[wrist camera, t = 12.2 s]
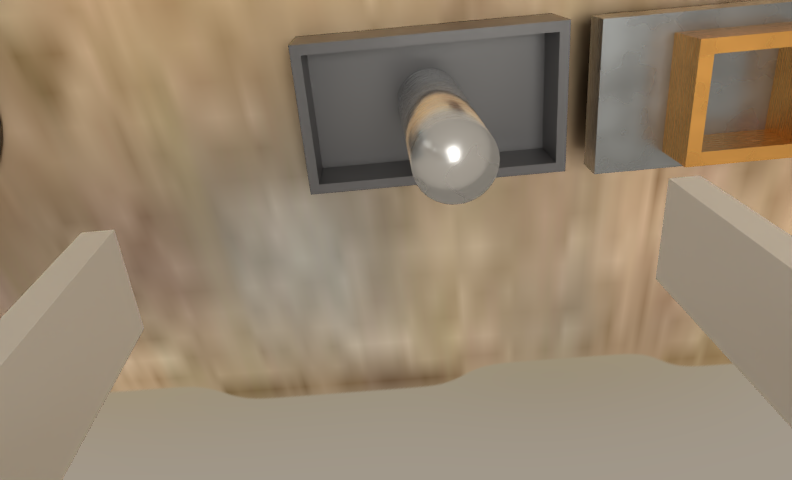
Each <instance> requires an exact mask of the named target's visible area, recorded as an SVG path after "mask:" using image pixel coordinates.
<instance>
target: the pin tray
mask: <svg viewBox="0 0 792 480" xmlns="http://www.w3.org/2000/svg"><path fill="white" fill-rule="evenodd" d="M570 30H571V20H570V19H567V18H564V17H561V16H558V15H555V14H552V13H549V14H538V15H527V16H516V17H505V18H494V19H484V20H473V21H462V22H451V23H440V24H429V25H418V26H407V27H397V28H386V29H375V30H364V31H353V32H342V33H331V34H320V35H310V36H299V37H295V38H294V40H293V41H292V42H291V43H290V44H289V45H288V47H289V54H290V60H291V67H292V74H293V80H294V87H295V93H296V100H297V106H298V113H299V120H300V126H301V133H302V139H303V146H304V152H305V159H306V165H307V172H308V179H309V185H310V192H311V194H322V193H333V192H344V191H355V190H365V189H376V188H387V187H398V186H409V185H417V184H416V182H415V180H414V177H413V174H412V170H411V165H410V160H409V155H408V151H407V146H406V141H405V136H404V132H403V127H402V122H401V117H400V113H399V108H398V94H399V90H400V88H401V86H402V84H403V83H404V81H405V80H406V79H407V78H408V77H409V76H410V75H411V74H413V73H415V72H417V71H419V70H422V69H437V70H440V71H443V72H445V73H446V74H448V75H449V76H450V77H451V78H452V79H453V80H454V82H455V83H456V84H457V86H458V87H459V89H460V90H461V92H462V93H463V94H464V96H465V97H466V99H467V100H468V102H469V103H470V105H471V106H472V108H473V109H474V110H475V112H476V113H477V115H478V116H479V118H480V119H481V121H482V122H483V123H484V125H485V126H486V128H487V129H488V131H489V132H490V134H491V135H492V136H493V138H494V140H495V142H496V144H497V146H498V150H499V155H500V164H499V169H498V173H497V176H496V177H506V176H517V175H528V174H539V173H549V172H560V171H565V163H566V137H567V110H568V83H569V57H570Z"/></svg>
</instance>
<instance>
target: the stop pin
mask: <svg viewBox="0 0 792 480" xmlns="http://www.w3.org/2000/svg"><path fill="white" fill-rule="evenodd" d="M398 108H399V113H400V117H401V122H402V127H403V132H404V136H405V141H406V146H407V151H408V155H409V160H410V165H411V170H412V174H413V177H414V180H415V182H416V184H417V185H418V187H419V188H420V190H421V191H422V192H423V193H424V194H425V195H427V196H428V197H429V198H431V199H433V200H435V201H437V202H440V203H444V204H462V203H466V202H469V201H472V200H474V199H476V198H477V197H479V196H480V195H482V194H483V193H484V192H485V191H486V190H487V189H488V188H489V187H490V186H491V185H492V183H493V181H494V180H495V178H496V176H497V173H498V169H499V164H500V155H499V150H498V146H497V144H496V142H495V140H494V138H493V136H492V135H491V134H490V132H489V131H488V129H487V128H486V126H485V125H484V123H483V122H482V121H481V119H480V118H479V116H478V115H477V113H476V112H475V110H474V109H473V108H472V106H471V105H470V103H469V102H468V100H467V99H466V97H465V96H464V94H463V93H462V92H461V90H460V89H459V87H458V86H457V84H456V83H455V82H454V80H453V79H452V78H451V77H450V76H449V75H448V74H446V73H445V72H443V71H440V70H437V69H422V70H419V71H417V72H415V73H413V74H411V75H410V76H409V77H408V78H407V79H406V80H405V81H404V83H403V84H402V86H401V88H400V90H399V94H398Z"/></svg>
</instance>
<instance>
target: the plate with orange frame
mask: <svg viewBox="0 0 792 480" xmlns="http://www.w3.org/2000/svg"><path fill="white" fill-rule="evenodd" d="M791 157H792V0H755V1H744V2H734V3H723V4H712V5H701V6H690V7H679V8H668V9H657V10H647V11H636V12H615V13H607V14H601V15H592V16H591V35H590V55H589V75H588V94H587V114H586V133H585V153H584V164H585V165H586V166H587V167H588V168H589V169H590V170H591V171H592V172H593V173H594V174H601V173H611V172H622V171H633V170H644V169H655V168H666V167H676V166H684V167H694V166H704V165H715V164H726V163H737V162H748V161H758V160H769V159H780V158H791Z"/></svg>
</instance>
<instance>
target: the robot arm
mask: <svg viewBox="0 0 792 480" xmlns="http://www.w3.org/2000/svg"><path fill="white" fill-rule="evenodd" d="M1 144H2V132H1V123H0V153H1ZM656 280H657V281H658V282H659V283H660V284H661V285H662V286H663V287H664V288H665V290H666V291H667V292H668V293H669V294H670V295H671V296H672V297H673V298H674V299H675V301H676V302H677V303H678V304H679V305H680V306H681V307H682V308H683V309H684V310H685V311H686V313H687V314H688V315H689V316H690V317H691V318H692V319H693V320H694V321H695V322H696V324H697V325H698V326H699V327H700V328H701V329H702V330H703V331H704V332H705V333H706V335H707V336H708V337H709V338H710V339H711V340H712V341H713V342H714V343H715V344H716V345H717V347H718V348H719V349H720V350H721V351H722V352H723V353H724V354H725V355H726V356H727V358H728V359H729V360H730V361H731V362H732V363H733V364H734V365H735V366H736V367H737V368H738V369H739V371H740V372H741V373H742V374H743V375H744V376H745V377H746V378H747V379H748V381H749V382H751V384H752V385H753V386H754V387H755V388H756V389H757V390H758V391H759V393H761V395H762V396H763V397H764V398H765V399H766V400H767V401H768V402H769V403H770V405H771V406H772V407H773V408H774V409H775V410H776V411H777V412H778V413H779V415H780V416H781V417H782V418H783V419H784V420H785V421H786V422H787V423H788V424H789V425H790V426H791V428H792V236H791V235H790V234H788V233H787V232H785V231H784V230H782V229H781V228H779V227H778V226H776V225H775V224H773V223H771V222H770V221H768V220H767V219H765V218H764V217H762V216H761V215H759V214H758V213H756V212H755V211H753V210H752V209H750V208H749V207H747V206H746V205H744V204H743V203H741V202H740V201H738V200H737V199H735V198H734V197H732V196H731V195H729V194H728V193H726V192H725V191H723V190H722V189H720V188H718V187H717V186H715V185H714V184H712V183H711V182H709V181H708V180H706V179H705V178H703V177H702V176H690V177H679V178H669V181H668V189H667V197H666V204H665V212H664V220H663V227H662V235H661V242H660V250H659V258H658V265H657V273H656ZM143 330H144V326H143V323H142V319H141V316H140V313H139V309H138V306H137V303H136V300H135V296H134V293H133V290H132V286H131V283H130V280H129V276H128V273H127V270H126V266H125V263H124V260H123V257H122V253H121V250H120V247H119V243H118V240H117V237H116V233H115V230H104V231H93V232H82V233H80V234H79V235H78V236H77V237H76V239H75V240H74V241H73V242H72V243H71V244H70V245H69V246H68V247H67V248H66V249H65V250H64V251H63V252H62V253H61V254H60V256H59V257H58V258H57V259H56V260H55V261H54V262H53V263H52V264H51V265H50V266H49V267H48V268H47V269H46V270H45V272H44V273H43V274H42V275H41V276H40V277H39V278H38V279H37V280H36V281H35V282H34V283H33V284H32V285H31V286H30V287H29V289H28V290H27V291H26V292H25V293H24V294H23V295H22V296H21V297H20V298H19V299H18V300H17V301H16V302H15V303H14V304H13V306H12V307H11V308H10V309H9V310H8V311H7V312H6V313H5V314H4V315H3V316H2V317H1V318H0V480H62V479H63V477H64V476H65V474H66V472H67V470H68V468H69V466H70V464H71V463H72V461H73V459H74V457H75V455H76V453H77V452H78V450H79V448H80V446H81V444H82V442H83V441H84V439H85V437H86V435H87V433H88V431H89V429H90V428H91V426H92V424H93V422H94V420H95V418H96V416H97V414H98V413H99V411H100V409H101V407H102V405H103V404H104V402H105V400H106V398H107V396H108V394H109V392H110V391H111V389H112V387H113V385H114V383H115V381H116V379H117V378H118V376H119V374H120V372H121V370H122V368H123V367H124V365H125V363H126V361H127V359H128V357H129V355H130V354H131V352H132V350H133V348H134V346H135V344H136V342H137V341H138V339H139V337H140V335H141V333H142V331H143Z"/></svg>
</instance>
